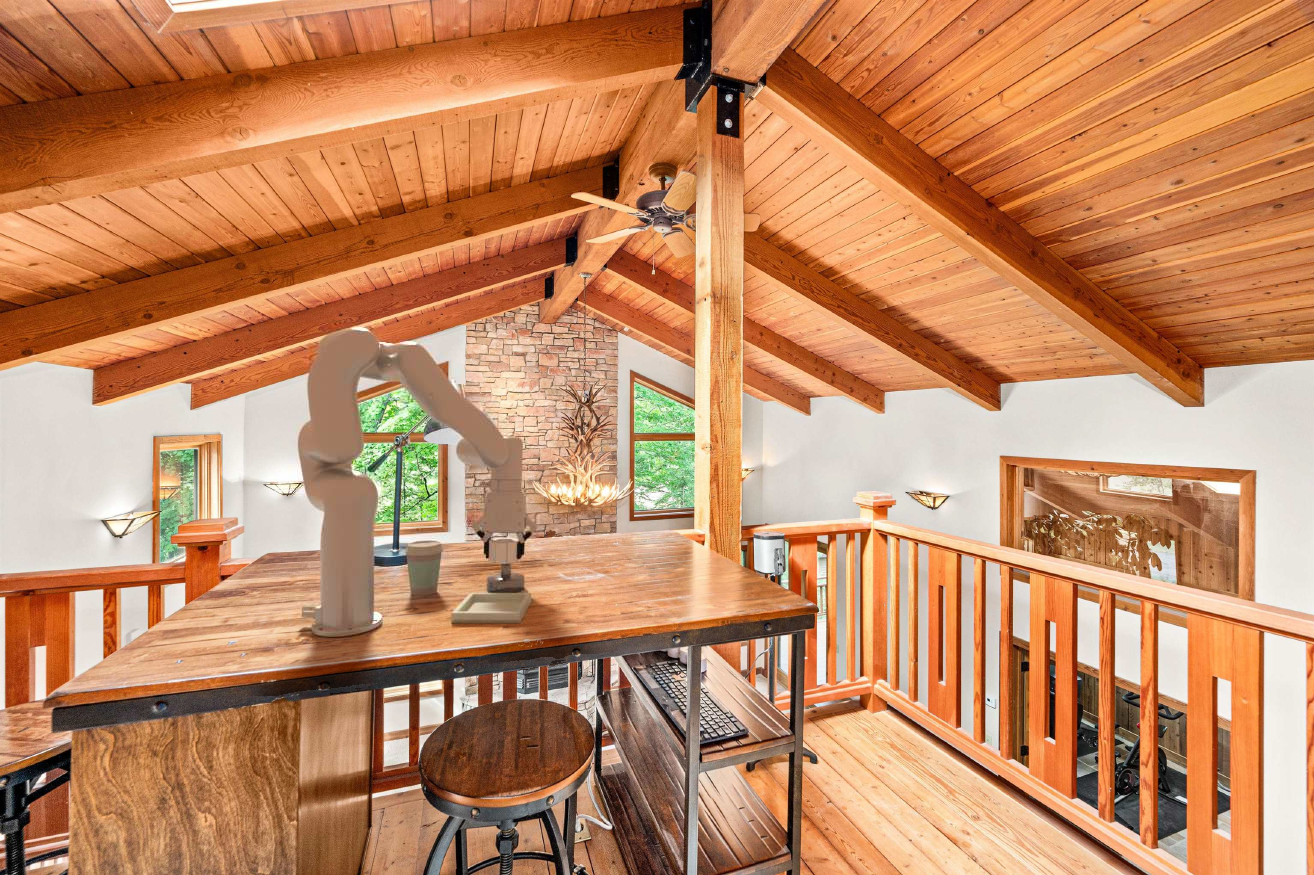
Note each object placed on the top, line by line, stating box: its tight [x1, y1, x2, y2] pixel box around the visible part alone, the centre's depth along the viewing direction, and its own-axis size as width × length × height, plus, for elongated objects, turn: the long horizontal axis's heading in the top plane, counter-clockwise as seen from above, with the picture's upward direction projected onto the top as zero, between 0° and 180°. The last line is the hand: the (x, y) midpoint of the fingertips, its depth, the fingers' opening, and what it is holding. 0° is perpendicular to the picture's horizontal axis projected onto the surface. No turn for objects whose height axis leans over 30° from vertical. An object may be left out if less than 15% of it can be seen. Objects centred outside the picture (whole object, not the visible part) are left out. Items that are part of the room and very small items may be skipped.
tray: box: [450, 592, 532, 624], centre depth 127 cm, size 14×14×2 cm
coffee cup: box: [404, 539, 444, 597], centre depth 140 cm, size 8×8×12 cm
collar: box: [488, 537, 520, 565], centre depth 143 cm, size 7×7×5 cm
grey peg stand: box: [486, 563, 525, 593], centre depth 143 cm, size 9×9×8 cm
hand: (504, 557), depth 143 cm, fingers closed on collar, 7 cm apart
